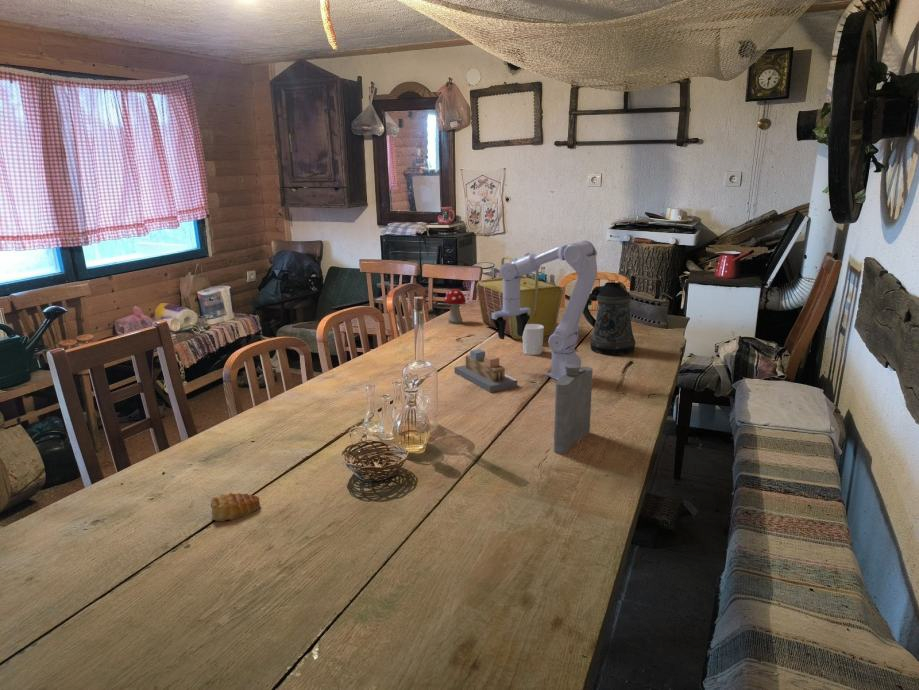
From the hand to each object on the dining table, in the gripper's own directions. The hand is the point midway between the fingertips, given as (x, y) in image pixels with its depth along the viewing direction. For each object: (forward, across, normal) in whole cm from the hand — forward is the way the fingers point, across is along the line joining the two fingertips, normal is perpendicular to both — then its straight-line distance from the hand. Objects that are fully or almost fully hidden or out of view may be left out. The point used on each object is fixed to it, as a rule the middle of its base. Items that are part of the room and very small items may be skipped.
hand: (510, 337), depth 209 cm
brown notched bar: (+8, +15, +7) cm, 19 cm away
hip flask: (+11, +22, +58) cm, 63 cm away
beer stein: (+11, -42, +3) cm, 43 cm away
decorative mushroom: (+11, -15, -65) cm, 68 cm away
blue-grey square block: (+4, +15, +3) cm, 16 cm away
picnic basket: (+11, -30, -38) cm, 50 cm away
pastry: (+11, +101, +48) cm, 112 cm away
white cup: (+11, -16, -9) cm, 21 cm away
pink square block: (+4, +15, +11) cm, 19 cm away
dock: (+10, +15, +7) cm, 20 cm away
